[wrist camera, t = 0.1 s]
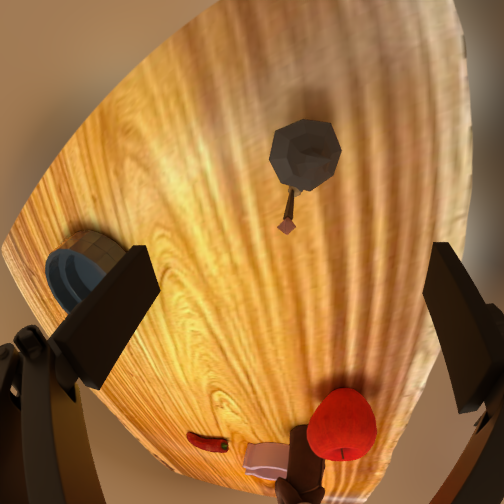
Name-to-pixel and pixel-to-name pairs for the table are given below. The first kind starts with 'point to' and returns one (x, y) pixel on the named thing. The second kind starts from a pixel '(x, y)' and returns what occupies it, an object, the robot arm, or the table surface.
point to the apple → (342, 426)
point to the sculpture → (301, 472)
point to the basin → (80, 266)
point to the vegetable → (208, 443)
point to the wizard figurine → (303, 160)
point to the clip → (267, 460)
